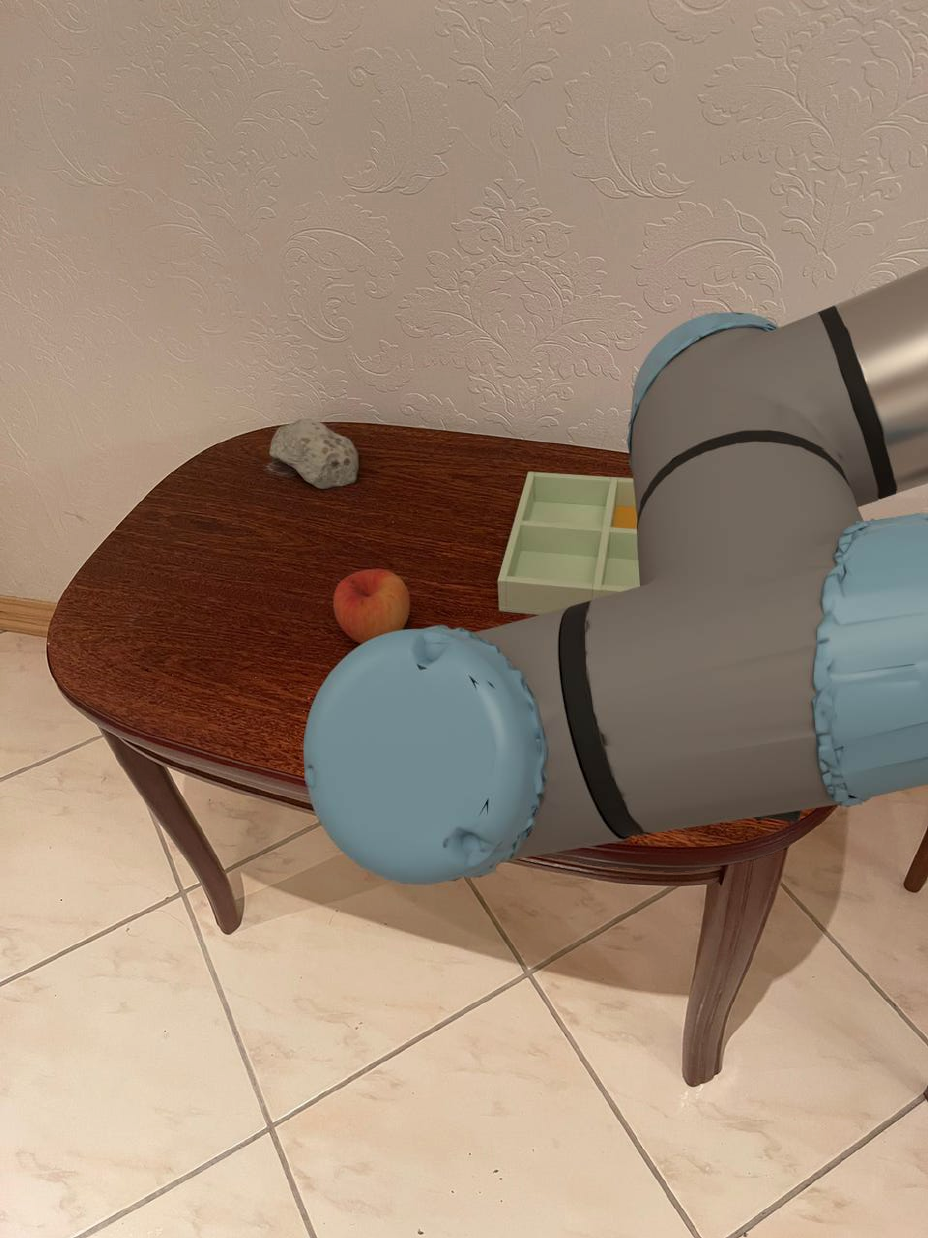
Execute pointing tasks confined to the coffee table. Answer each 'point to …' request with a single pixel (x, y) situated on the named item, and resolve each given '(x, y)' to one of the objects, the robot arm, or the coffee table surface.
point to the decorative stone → (316, 453)
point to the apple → (371, 604)
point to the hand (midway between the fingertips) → (653, 730)
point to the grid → (569, 543)
